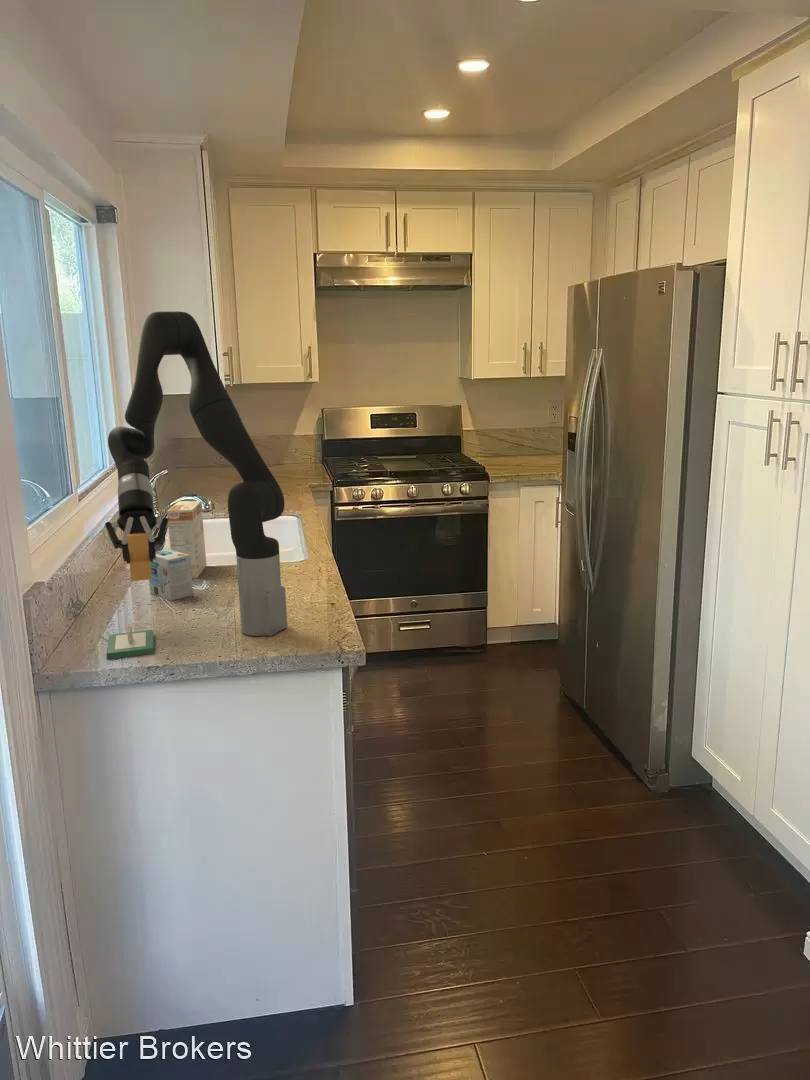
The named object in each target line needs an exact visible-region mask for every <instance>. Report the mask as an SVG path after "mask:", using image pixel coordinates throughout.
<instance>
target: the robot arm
mask: <svg viewBox="0 0 810 1080" xmlns="http://www.w3.org/2000/svg"><path fill="white" fill-rule="evenodd" d="M142 325H143V326H142V328H141V333H140V341H139V346H138V347H139V348H138V354H137V363H136V371H135V377H134V378H135V379H134V383H133V388H132V391H131V394H130V397H129V400H128V403H127V406H126V410H125V412H124V413H125V414H124V419H125V422H126V423H127V425H129V426H130V427H127V426H114V428H112V429H111V430H110V432H109V434H108V437H107V447H108V449H109V452H110V454H111V457H112V459H113V461H114V464H115V467H116V469H117V470H116V471H117V480H118V483H117V484H118V485H117V501H118V502H117V503H118V518H117V520H116V521H114V522H110V521H106V522H105V523H104V526H105V530H106V533H107V535H108V538H109V539H110V541H111V543H112V545H113V547H114V549H116V550H117V549H121V550H122V560H123V561H124V562H125V563H126V565H127V564H129V565H130V556H129V549H128V539H127V534H137V533H148V545H149V559H150V562H152V561H153V559H155V558H156V552H157V551H156V548H157V546H158V545H159V546H162V545H164V542H165V539H166V537H167V532H168V530H169V528H168V517H163V518H157V516H156V515H155V510H154V496H153V495H154V494H153V489H152V484H151V478H150V467H149V464H148V462H147V460H146V459H149V458H150V457H151V456H153V453H154V450H155V429H156V428H155V427H156V422H157V421H158V416H159V414H160V411H161V408H162V406H163V401H164V400H163V399H164V393H163V392H164V391H163V387H162V385H161V381H160V378H159V366H160V364H161V362H162V359H163V358H164V356H176V355H179V356H181V357H182V358H183V360H184V362H185V365H186V367H187V369H188V371H189V374H190V382H191V383H190V390H189V391H190V392H189V402H188V403H189V404H188V405H189V412H190V415H191V417H192V419H193V420H194V423H195V426H196V428H197V429H198V432H199V434H200V435H201V437H202V438H203V439H204V441H205V442H206V443H207V444H208V445H209V446H210V447H211V448H212V449H213V450H214V451H216V452H217V453H218V454H219V455H221V457H223V458H224V459H225V460H227V462H229V463H230V464H231V465H232V466H233V467H234V469H235V470H236V471H237V473H238V474H239V476H240V478H241V480H242V481H243V482H240V483H236V484H234V485H233V486H232V487H231V488H230V490H229V493H228V497H227V512H228V519H229V520H228V521H229V527H230V528H229V529H230V536H231V541H232V544H233V546H234V549H235V554H236V556H235V557H236V559H235V560H236V573H237V585H238V587H237V588H238V600H239V613H240V614H239V615H240V627H241V633H243V634H244V635H247V636H253V637H262V636H263V637H264V636H269V637H271V636H272V637H273V636H274V635H276V634H278V633H280V632H282V631H283V629H284V630H286V629H288V617H287V616H288V615H287V614H288V613H287V612H288V611H287V597H286V587H285V586H282V577H281V561H280V560H281V559H280V544H279V541H278V540H277V539H276V538H274V537H269V536H266V534H265V531H264V524H263V523H266V522H268V521H269V522H270V521H273V520H277V519H278V518H279V517H281V516H282V514H284V513H283V512H284V510H285V497H284V493H283V490H282V488H281V486H280V484H279V483H278V481H277V479H276V478H275V476H274V474H272V472H271V470H270V468H269V467H268V466H267V463H265V461H264V459H263V457H262V456H261V454H260V453H259V451H258V449H257V447H256V445H255V444H254V442H253V440H252V438H251V437H250V434H249V433H248V431H247V429H246V426H245V424H244V423H243V421H242V417H240V416H241V415H240V413H239V412H238V410H237V408H236V406H235V404H234V403H233V399H232V398H231V395H229V393H228V391H227V389H226V387H225V385H224V383H223V380H222V379H221V376H220V375H219V373H218V370H217V369H216V368H217V367H216V366H215V364H214V361H213V359H212V356H211V353H210V351H209V348H208V346H207V344H206V341H205V338H204V335H203V333H202V331H201V328H200V326H199V324H198V322H197V321H196V319H195V318H194V317H193V316H192V315H191V314H190V313H188V312H187V311H186V312H185V311H164V310H163V311H161V310H160V311H154V312H151V313H149V314H148V315H147V316H146V317H145V319H144V322H143V324H142ZM156 525H157V527H158V532H157V536H155V537H154V535H153V533H152V530H153V529H154V528H155V526H156ZM118 528H120V530H122V531H123V537H122V539H119V538H118V535H117V532H118V530H117V529H118ZM285 628H286V629H285ZM281 630H282V631H281ZM279 631H280V632H279ZM277 632H278V633H277Z"/></svg>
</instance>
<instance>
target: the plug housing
mask: <svg viewBox="0 0 810 1080" xmlns="http://www.w3.org/2000/svg"><path fill="white" fill-rule="evenodd" d="M127 539H128V549H129V556H130V563H129V573H130V579H131V580H130V581H131V582H137V581H139V582H140V581H146V580H147V581H149V579H152V571H151V562H150V559H149V545H148V533H137V534H127Z"/></svg>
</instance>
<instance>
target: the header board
mask: <svg viewBox="0 0 810 1080" xmlns="http://www.w3.org/2000/svg"><path fill="white" fill-rule="evenodd" d="M154 635H155V634H154V629H145V630H137V631H133V627H132V626H127V631H126V632H119V633H111V634H109V635H108V640H107V647H106V659H107V660H112V659H118V658H119V659H120V658H126V657H127V658H128V657H129V658H130V657H137V656H142V655H152V654H155V651H154V649H155V648H154V645H155V643H154ZM111 658H112V659H111Z"/></svg>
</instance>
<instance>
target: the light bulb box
mask: <svg viewBox="0 0 810 1080" xmlns="http://www.w3.org/2000/svg"><path fill="white" fill-rule="evenodd" d="M151 571H152V579H149V580H148V582H149V584H148V585H149V591H150V594H153V595H155V596H156V597H157V596H158V597H160V598H163V599H166V600H168V601H174V600H179V599H183V598H187V597H191V596H193V595H194V589H193V579H192V574H191V561H190V555H188V554H184V553H181V552H177V551H174V550H171V549H170V548H168V549H163V550H158V551H156V558H155V559H153V561H152V562H151Z"/></svg>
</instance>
